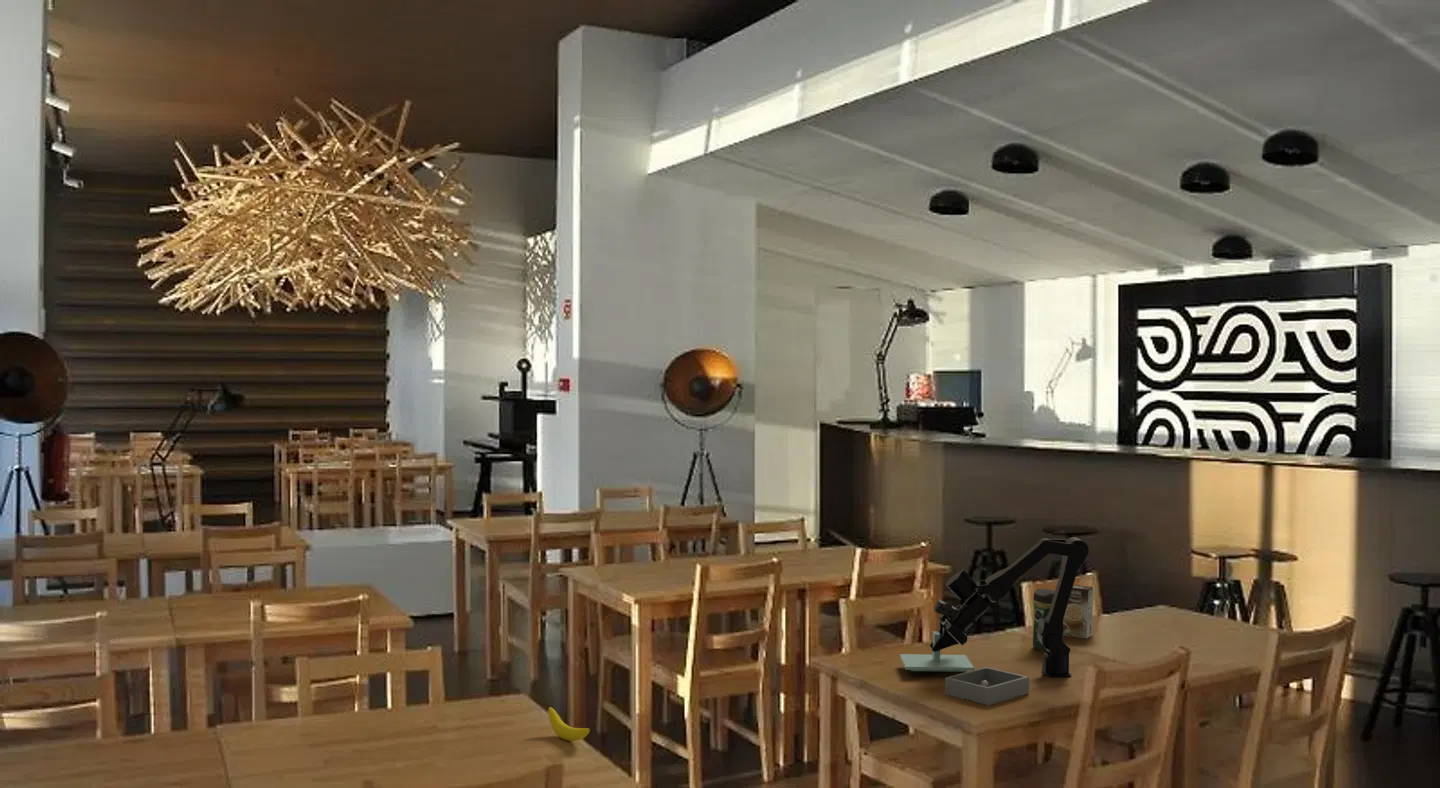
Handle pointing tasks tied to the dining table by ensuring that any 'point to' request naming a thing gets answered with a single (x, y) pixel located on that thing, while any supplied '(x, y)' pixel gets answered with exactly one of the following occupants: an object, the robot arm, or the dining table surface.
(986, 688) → the tub
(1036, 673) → the dining table surface
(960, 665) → the lid
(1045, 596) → the coffee jar
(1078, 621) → the coffee box
